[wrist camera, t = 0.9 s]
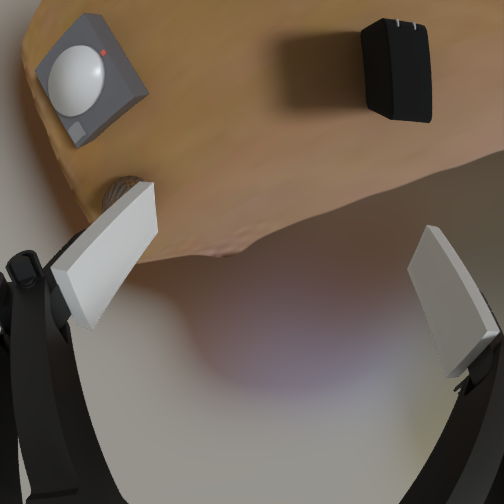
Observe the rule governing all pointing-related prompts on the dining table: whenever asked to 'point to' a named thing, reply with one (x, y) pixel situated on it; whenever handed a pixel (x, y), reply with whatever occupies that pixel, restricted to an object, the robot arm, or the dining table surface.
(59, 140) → the dining table surface
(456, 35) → the dining table surface
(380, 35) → the electronic device
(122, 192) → the vase
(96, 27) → the grey dome button box
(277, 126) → the dining table surface
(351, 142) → the dining table surface
